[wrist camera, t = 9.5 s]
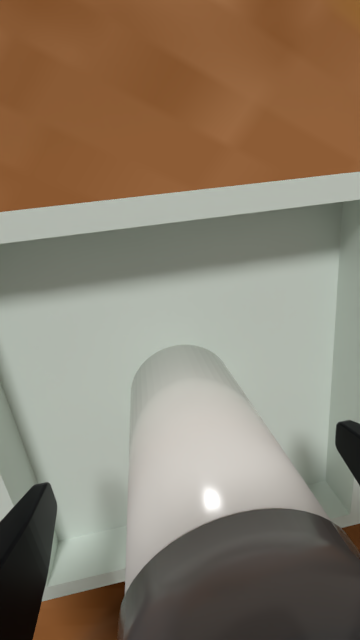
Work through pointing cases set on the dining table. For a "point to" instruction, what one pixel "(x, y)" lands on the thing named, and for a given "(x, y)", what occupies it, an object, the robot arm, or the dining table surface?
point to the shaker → (224, 519)
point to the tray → (173, 341)
